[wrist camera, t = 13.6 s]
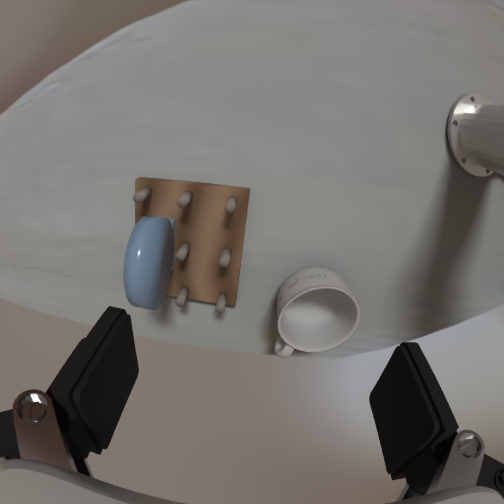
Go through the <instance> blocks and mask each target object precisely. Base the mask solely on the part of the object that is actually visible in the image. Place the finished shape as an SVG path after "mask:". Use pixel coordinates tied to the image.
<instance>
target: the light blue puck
mask: <svg viewBox="0 0 504 504" xmlns="http://www.w3.org/2000/svg"><path fill="white" fill-rule="evenodd" d="M174 262H175V220H172V219H168V218H164V217H156V216H143V217H142V218H141V219H140V220H139V221H138V222H137V223H136V225H135V227H134V229H133V231H132V233H131V236H130V239H129V242H128V245H127V249H126V255H125V261H124V287H125V293H126V296H127V299H128V301H129V303H130V304H131V305H132V306H135V307H140V308H145V309H150V310H156V309H157V308H158V307H159V306H160V305H161V303H162V301H163V299H164V297H165V294H166V291H167V288H168V284H169V280H170V275H171V270H173V269H174Z"/></svg>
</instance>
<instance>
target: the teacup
mask: <svg viewBox="0 0 504 504" xmlns="http://www.w3.org/2000/svg"><path fill="white" fill-rule="evenodd" d="M277 317H278V322H277V326H278V332H279V334H280V335H279V337H278V339H277V341H276V344H275V353H276V354H277V355H278V356H279V357H282V358H287V357H288V356H290V355H291V354H292V352H293V351H294V349H297V350H300V351H305V352H322V351H326V350H329V349H332V348H334V347H336V346H338V345H340V344H342V343H343V342H344V341H346V340H347V339H348V338H349V337H350V336H351V335H352V334H353V332H354V331H355V329H356V327H357V325H358V322H359V318H360V309H359V306H358V303H357V301H356V299H355V298H354V297H353V295H352V293H351V291H350V290H349V288H348V286H347V284H346V283H345V281H344V280H343V279H342V278H341V277H340V276H339V275H338V274H337V273H335V272H333V271H332V270H329V269H326V268H322V267H310V268H305V269H302V270H300V271H298V272H296V273H294V274H293V275H291V276H290V277H289V278H288V279H287V280H286V281H285V282H284V283H283V285H282V286H281V288H280V290H279V293H278V297H277Z"/></svg>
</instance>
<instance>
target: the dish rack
mask: <svg viewBox="0 0 504 504" xmlns="http://www.w3.org/2000/svg"><path fill="white" fill-rule="evenodd" d="M249 192H250V188H243V187H235V186H227V185H218V184H209V183H200V182H190V181H180V180H169V179H157V178H143V177H139V178H137V179H136V181H135V195H134V197H133V199H134V201H135V225H136V223H137V222H138V221H139V220H140V219H141V218H142V217H143V216H156V217H164V218H168V219H172V220H175V262H174V269H173V270H171V275H170V280H169V284H168V288H167V291H166V294H165V295H168V296H174V297H177V299H176V301H175V304H176V305H177V306H178V307H182V306H183V304H184V302H185V300H186V299H192V300H198V301H205V302H212V303H217V304H216V308H215V310H216V312H218V313H223V312H224V309H225V305H232V306H235V304H236V298H237V289H238V281H239V273H240V264H241V256H242V248H243V240H244V232H245V224H246V216H247V208H248V200H249Z"/></svg>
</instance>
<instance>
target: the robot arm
mask: <svg viewBox="0 0 504 504" xmlns="http://www.w3.org/2000/svg"><path fill="white" fill-rule="evenodd" d="M447 132H448V141H449V145H450V149H451V151H452V154H453V156H454V158H455V160H456V161H457V163H458V164H459V165H460V167H461V168H462V169H464V170H465V171H466V172H468V173H470V174H472V175H475V176H479V177H484V176H488V175H490V174H492V173H493V172H496V173H499V174H502V175H504V105H494V104H493V103H492V102H491V101H490V100H489V99H488V98H486V97H484V96H482V95H478V94H468V95H464V96H462V97H461V98H459V99H458V100H457V101H456V102H455V104H454V105H453V107H452V109H451V112H450V114H449V119H448V130H447ZM138 372H139V368H138V361H137V356H136V350H135V344H134V337H133V330H132V323H131V317H130V315H128V314H127V313H126V311H125V310H124V309H121V308H116V307H111V306H109V307H108V308H107V309H106V310H105V312H104V313H103V314H102V316H101V317H100V319H99V320H98V321H97V323H96V324H95V325H94V327H93V328H92V330H91V331H90V332H89V334H88V335H87V337H86V338H83V339H82V340H81V341H80V342H79V344H78V345H77V346H76V348H75V349H74V351H73V352H72V354H71V355H70V357H69V358H68V359H67V361H66V362H65V364H64V365H63V367H62V368H61V370H60V371H59V373H58V374H57V376H56V377H55V379H54V381H53V382H52V384H51V385H50V387H49V388H48V390H47V392H46V393H45V392H43V391H41V390H36V389H33V390H32V389H31V390H27V391H24V392H22V393H21V394H20V395H18V397H17V398H16V399H15V401H14V404H13V409H11V410H7V411H3V412H0V504H184V503H179V502H175V501H170V500H166V499H161V498H157V497H153V496H149V495H146V494H142V493H138V492H135V491H131V490H128V489H125V488H121V487H118V486H114V485H112V484H109V483H106V482H103V481H100V480H98V479H95V478H94V476H93V474H92V472H91V470H90V467H89V464H88V462H87V460H86V458H87V457H88V455H89V452H90V451H91V452H94V453H96V454H99V455H100V454H101V452H102V449H107V448H108V446H109V444H110V441H111V438H112V436H113V433H114V431H115V429H116V426H117V424H118V421H119V419H120V416H121V414H122V412H123V409H124V407H125V404H126V402H127V400H128V397H129V395H130V393H131V390H132V388H133V386H134V384H135V381H136V379H137V377H138ZM369 401H370V405H371V409H372V413H373V417H374V420H375V424H376V428H377V432H378V436H379V440H380V444H381V448H382V452H383V456H384V461H385V465H386V470H387V472H388V473H389V474H391V478H392V480H397V479H402V478H406V482H407V483H406V485H405V486H404V488H403V490H402V492H401V494H400V495H399V497H398V499H397V501H396V502H391V503H386V504H504V464H503V463H500V462H499V461H497V460H495V459H493V458H491V457H489V456H488V455H486V454H484V452H485V446H484V442H483V440H482V438H481V437H480V436H479V435H478V434H477V433H475V432H474V431H471V430H463V431H460V432H459V433H457V431H456V430H457V429H458V428H459V426H458V424H457V422H456V420H455V417H454V415H453V413H452V411H451V409H450V406H449V404H448V402H447V400H446V398H445V396H444V394H443V391H442V389H441V387H440V385H439V383H438V381H437V379H436V377H435V375H434V373H433V371H432V369H431V367H430V365H429V363H428V361H427V360H426V358H425V356H424V354H423V352H422V350H421V348H420V346H419V345H418V343H414V342H413V343H412V342H403V343H401V344H400V346H397V347H396V349H395V350H394V353H393V354H392V356H391V358H390V360H389V362H388V364H387V366H386V367H385V369H384V371H383V373H382V374H381V376H380V378H379V380H378V381H377V383H376V385H375V387H374V388H373V390H372V392H371V393H370V397H369Z"/></svg>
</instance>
